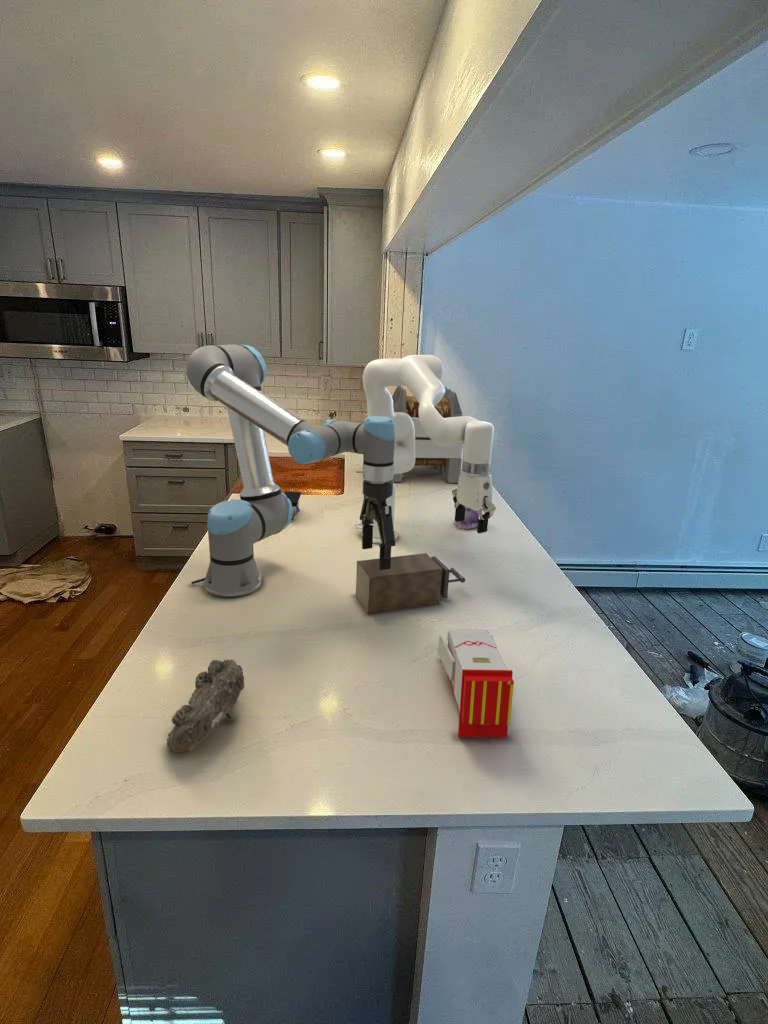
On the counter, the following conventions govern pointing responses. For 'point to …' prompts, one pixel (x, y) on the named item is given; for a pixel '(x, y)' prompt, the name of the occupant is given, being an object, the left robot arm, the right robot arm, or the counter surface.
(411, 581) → the cabinet
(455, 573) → the drawer
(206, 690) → the fossil
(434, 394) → the right robot arm
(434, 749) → the counter surface
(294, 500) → the figurine character
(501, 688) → the toy
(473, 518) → the figurine
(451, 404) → the transformer
